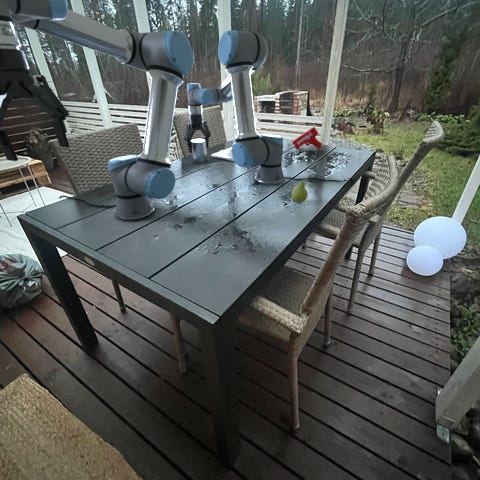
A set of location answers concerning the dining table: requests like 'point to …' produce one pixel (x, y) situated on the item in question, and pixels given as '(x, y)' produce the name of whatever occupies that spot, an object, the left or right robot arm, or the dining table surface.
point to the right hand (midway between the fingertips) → (198, 150)
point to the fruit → (300, 192)
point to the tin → (199, 150)
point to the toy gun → (308, 139)
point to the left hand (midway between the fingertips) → (41, 153)
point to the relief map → (224, 154)
